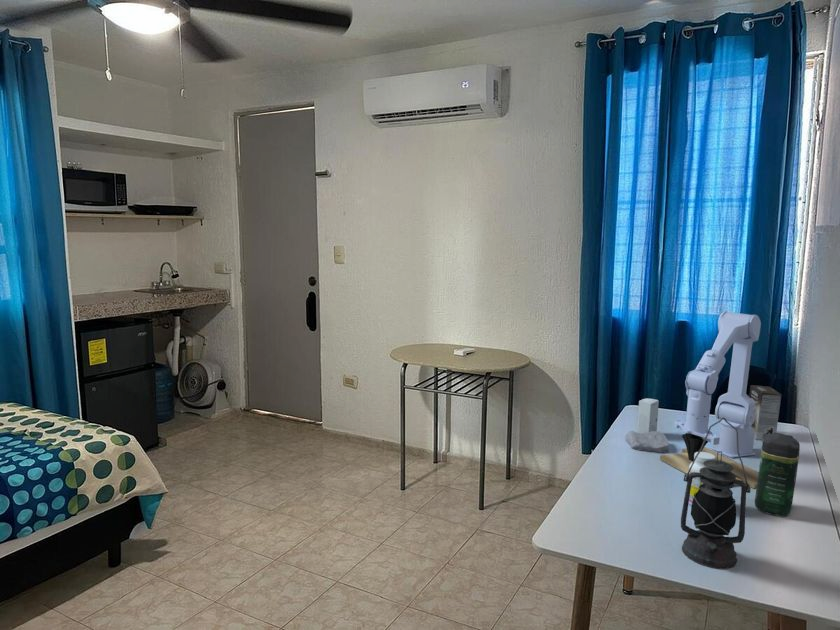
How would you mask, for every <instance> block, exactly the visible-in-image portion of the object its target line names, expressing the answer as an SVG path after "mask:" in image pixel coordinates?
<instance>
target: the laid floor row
mask: <svg viewBox="0 0 840 630" xmlns="http://www.w3.org/2000/svg"><path fill="white" fill-rule="evenodd" d="M702 452H707V453H710V454H713V455H714V456H715V460H717V452H718V451H715V450H713V449H711V448H708V447H706V446H704V448H703V450H702ZM681 453H688V452H687V448H686V447H685V448H682V451H681ZM718 460H719V461H720V460H721V453H720V452H718ZM721 461H724V462H726V463H728V464H730V465H732V466H733V468H734V469H733V471H730V472H732V473H733V474H735V476H736V477H737V478H739V479H741V480H742V481H743V482H744V483H745V484H746V481H745V477H744V473H743V468H742V464H741V462H738V461H736V460H735V459H733V458H731V457H728V456H726V455H724V454H722V460H721ZM743 466H744V470H745V474H746V479H747V483H748V484H749V485H750V487H751V488H752V489H754V488H755V489H757V482H758V474H759V471H757V470H755V469H752V468H751V467H749V466H746V465H744V464H743Z"/></svg>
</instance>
